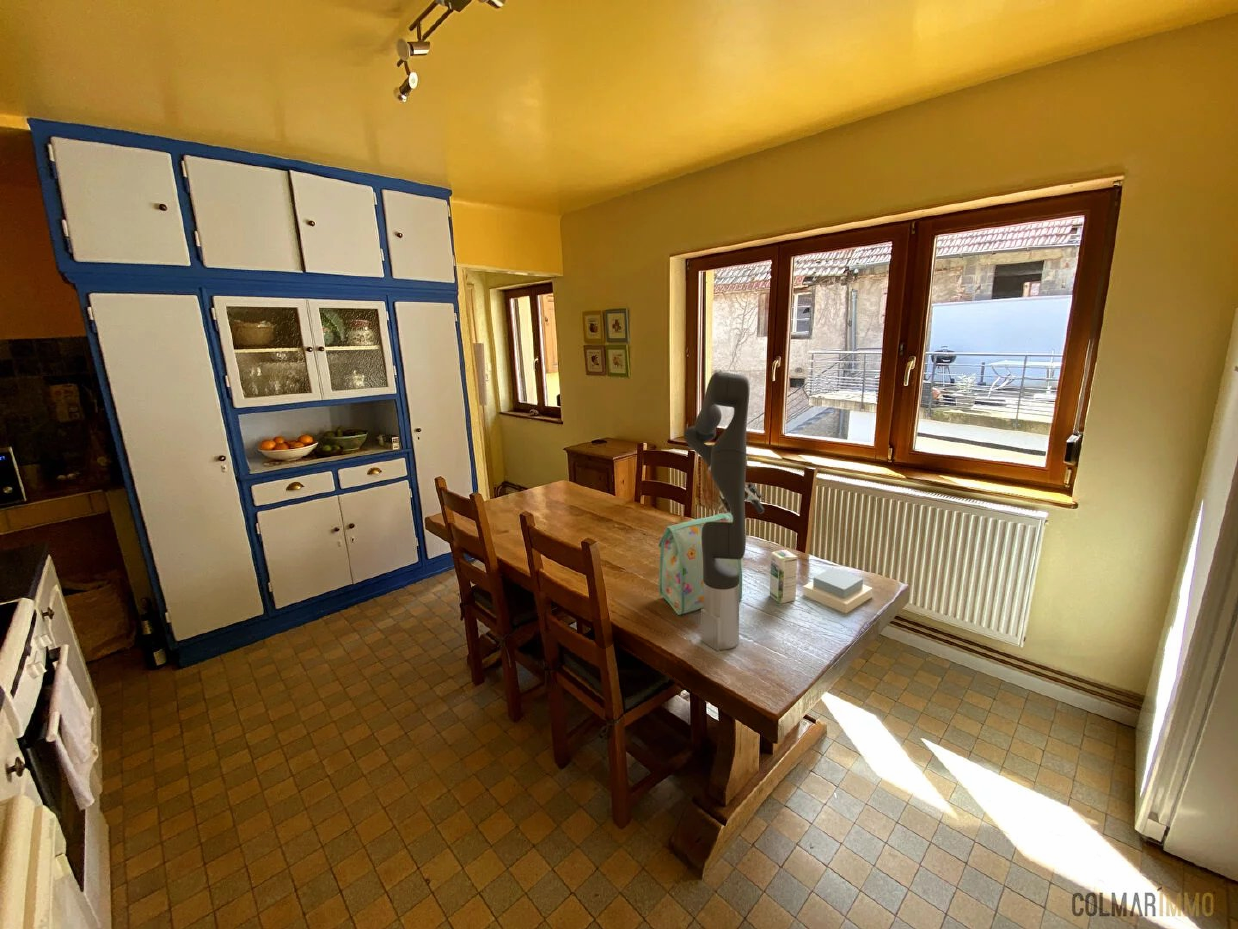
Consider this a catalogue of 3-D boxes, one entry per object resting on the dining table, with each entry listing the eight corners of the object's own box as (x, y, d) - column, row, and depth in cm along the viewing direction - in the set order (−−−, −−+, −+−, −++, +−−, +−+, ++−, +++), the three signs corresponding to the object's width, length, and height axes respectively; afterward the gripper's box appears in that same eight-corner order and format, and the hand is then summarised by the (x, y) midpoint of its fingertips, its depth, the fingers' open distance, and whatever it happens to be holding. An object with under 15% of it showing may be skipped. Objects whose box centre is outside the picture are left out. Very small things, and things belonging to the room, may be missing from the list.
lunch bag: (718, 579, 167) (717, 502, 161) (747, 602, 153) (748, 518, 146) (655, 595, 160) (652, 515, 153) (680, 621, 145) (677, 533, 138)
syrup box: (768, 595, 156) (769, 552, 152) (785, 591, 157) (786, 548, 154) (779, 604, 150) (781, 559, 147) (796, 600, 152) (798, 556, 148)
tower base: (845, 613, 144) (847, 594, 142) (802, 594, 155) (803, 577, 153) (871, 597, 152) (873, 579, 150) (829, 580, 163) (830, 563, 161)
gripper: (716, 472, 157) (744, 516, 151) (746, 463, 165) (775, 504, 158) (704, 484, 162) (731, 527, 156) (734, 475, 170) (761, 516, 164)
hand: (753, 516), depth 157 cm, fingers open, 8 cm apart
